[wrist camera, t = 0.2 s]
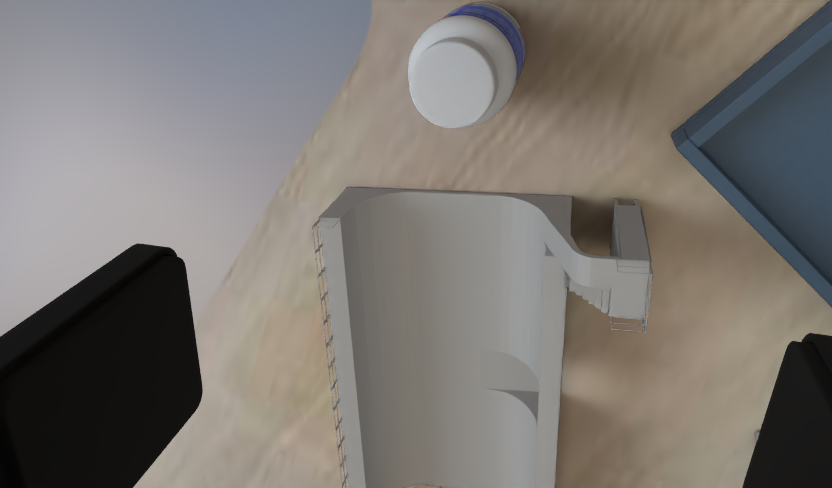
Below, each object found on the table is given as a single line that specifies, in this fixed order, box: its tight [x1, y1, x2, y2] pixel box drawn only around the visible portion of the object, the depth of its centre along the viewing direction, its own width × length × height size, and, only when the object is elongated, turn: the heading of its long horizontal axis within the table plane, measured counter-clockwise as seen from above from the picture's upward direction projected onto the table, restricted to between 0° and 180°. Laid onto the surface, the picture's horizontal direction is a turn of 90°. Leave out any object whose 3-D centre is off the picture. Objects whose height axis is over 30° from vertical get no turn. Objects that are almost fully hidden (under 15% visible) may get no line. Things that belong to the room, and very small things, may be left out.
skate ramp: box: [312, 187, 653, 488], centre depth 43 cm, size 25×19×10 cm
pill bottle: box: [408, 2, 526, 129], centre depth 34 cm, size 5×5×10 cm
